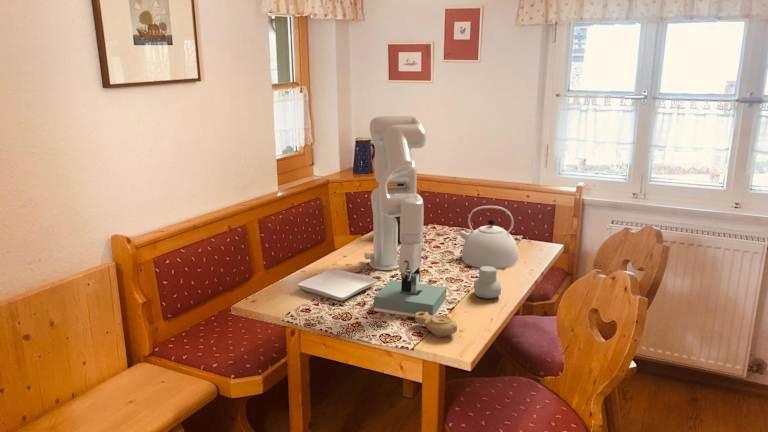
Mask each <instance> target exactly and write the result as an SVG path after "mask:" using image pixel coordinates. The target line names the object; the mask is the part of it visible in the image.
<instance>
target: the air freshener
mask: <svg viewBox="0 0 768 432" xmlns="http://www.w3.org/2000/svg"><path fill="white" fill-rule="evenodd" d="M497 274H498V273H497V269H496V268H494V267H491V266H483V267H479V271H478V278H476V279H475V280H474V282H473V291H474V295H475V296H477V297H478V298H481V299H494V298H497V297H499V296H500V295H501V294H502V288H501V287H502V286H501V282H500V280H498V279H497Z"/></svg>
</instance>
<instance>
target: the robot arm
mask: <svg viewBox="0 0 768 432" xmlns="http://www.w3.org/2000/svg"><path fill="white" fill-rule="evenodd" d="M425 131H426V130H425V128H424V126H423V124H422V123H421V121H420V120H419V119H418V118H417V117H416V116H413V115H388V116H387V115H384V116H382V115H381V116H376V117H374V118H372V119H371V120H370V123H369V132H370V133H369V134H370V136H371V141H372V143H373V146H374V177H375V180H376V182H377V183H378V184H379V185H378V187H377V188H375V189H373V190H372V191H371V194H370V202H371V203H370V204H371V209H372V216H373V217H372V219H373V220H372V221H373V225H372V226H373V227H372V228H373V235H372V237H373V252H372V253H370V252H366V251H365V252H364V255H363V256H364V259H366V260H370V261H369V266H370V267H371V268H372V269H375V270H379V271H393V270H397V269H398V271H399V273H400V274H401V276H400V277H401V278H400V279H401V281H402V284H401V290H402V291H403V292H411V280H410V279H411V274H412V273H415V274H419V283H420V282H421V264H422V243H423V242H424V219H425V218H424V216H425V215H424V213H425V212H424V211H425V209H424V207H425V205H424V199H423V198H422V196H421V195H420V194H419V193H417V186H418V185H417V182H418V180H417V179H418V175H417V174H418V171H417V165H416V163H415V161H414V160H413V158H412V157H413V156H412V151H411V149H422V148H424V147H425V145H426V143H427V142H426V141H427V138H426V137H427V135H426V132H425ZM396 184H404V186H398V187H397V186H388V185H396ZM397 216H400V241H398V223H397V220H396V218H395V217H397ZM398 242H400V249H399V259H398ZM406 273H407V274H409V276H408V275H407V274H406Z"/></svg>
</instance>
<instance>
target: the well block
mask: <svg viewBox="0 0 768 432" xmlns="http://www.w3.org/2000/svg"><path fill="white" fill-rule="evenodd" d="M401 284H402V280H401V281H400V280H394V279H390V280H389V281H388V282H387V283H386V284H385V285H384V286H383V287H381V289H380V290H379V291H378V292H377V293H376V294H375V295H374V296H373V310H374V311H376V312H381V313H386V314H394V315H401V316H407V317H414V318H415V314H416V313H417V312H428V314H429V315H432V316H437V314H438V313H439V312H440V311H441V309H442V307H443V306H444V305H445V303H446V301H447V287H445V286H437V285H431V284H430V285H429V284H424V283H423V284H422V283H419V295H418V296H415V295H408V294H403V291H402V290H401ZM438 311H439V312H438Z"/></svg>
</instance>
